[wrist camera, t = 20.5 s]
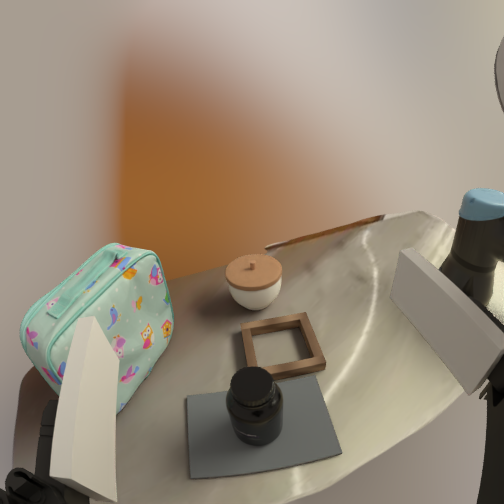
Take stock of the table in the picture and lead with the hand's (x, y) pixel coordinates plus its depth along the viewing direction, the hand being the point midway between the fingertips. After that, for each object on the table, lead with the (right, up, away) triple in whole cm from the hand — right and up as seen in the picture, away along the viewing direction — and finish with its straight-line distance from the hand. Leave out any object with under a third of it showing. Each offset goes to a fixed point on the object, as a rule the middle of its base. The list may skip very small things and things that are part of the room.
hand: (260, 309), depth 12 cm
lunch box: (-22, -19, +35) cm, 46 cm away
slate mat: (+1, -22, +25) cm, 33 cm away
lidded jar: (+1, -8, +49) cm, 50 cm away
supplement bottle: (+1, -22, +25) cm, 33 cm away
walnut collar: (+5, -14, +37) cm, 40 cm away
